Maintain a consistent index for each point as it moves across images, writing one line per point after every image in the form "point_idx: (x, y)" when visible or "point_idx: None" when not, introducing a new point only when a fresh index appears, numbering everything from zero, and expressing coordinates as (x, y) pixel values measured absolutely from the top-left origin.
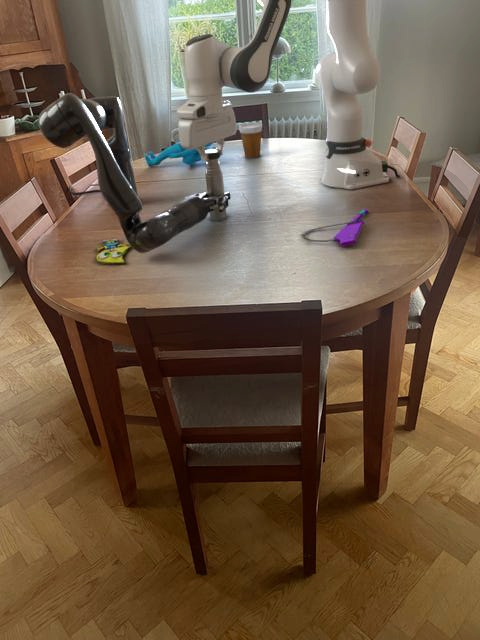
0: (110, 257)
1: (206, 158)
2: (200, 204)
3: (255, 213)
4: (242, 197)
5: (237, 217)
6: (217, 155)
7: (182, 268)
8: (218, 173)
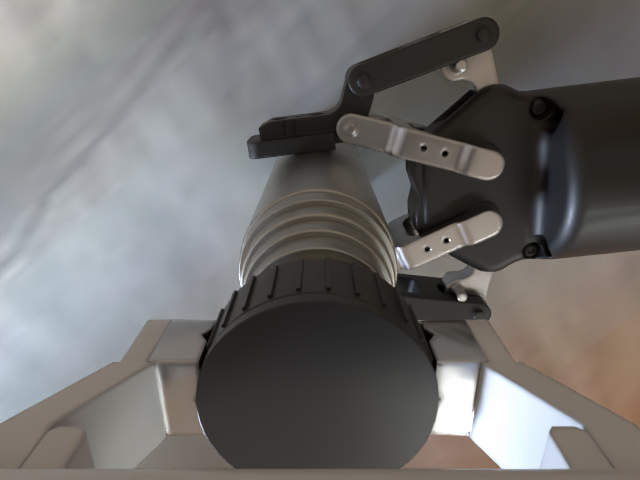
0: None
1: (480, 333)
2: (621, 105)
3: (165, 18)
4: (34, 243)
5: (266, 77)
6: (332, 274)
7: None
8: (338, 199)
